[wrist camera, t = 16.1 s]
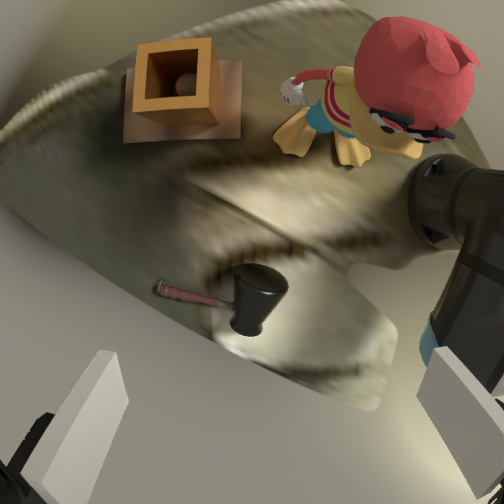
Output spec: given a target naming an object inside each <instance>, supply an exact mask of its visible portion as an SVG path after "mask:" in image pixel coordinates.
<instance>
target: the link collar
mask: <svg viewBox="0 0 504 504" xmlns="http://www.w3.org/2000/svg"><path fill="white" fill-rule="evenodd" d="M187 73H193V74H196V75H197V83H196V96H182V97H174V90H175V82H177V80H178V79H179V78H180V77H181V76H182V75H184V74H187ZM221 75H222V71H221V68H220V64H219V61H218V57H217V54H216V50H215V47H214V44H213V40H212V37H211V38H193V39H181V40H170V41H161V42H153V43H147V44H140V45H138V48H137V58H136V68H135V80H134V94H133V113H135V114H137V115H140V116H142V117H144V118H147V119H149V120H152V121H154V122H156V123H159V124H161V125H163V126H171V125H192V124H220V104H221Z"/></svg>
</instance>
